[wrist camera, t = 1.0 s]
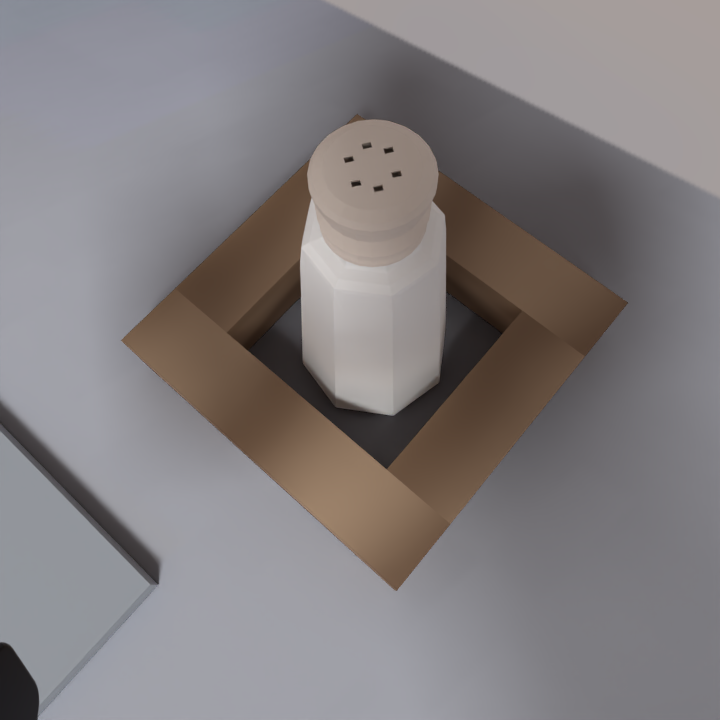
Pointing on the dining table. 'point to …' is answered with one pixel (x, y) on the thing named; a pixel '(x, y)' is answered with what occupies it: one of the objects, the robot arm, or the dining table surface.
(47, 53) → the dining table surface
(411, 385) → the pepper shaker
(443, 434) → the walnut collar
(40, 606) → the slate grey mat
